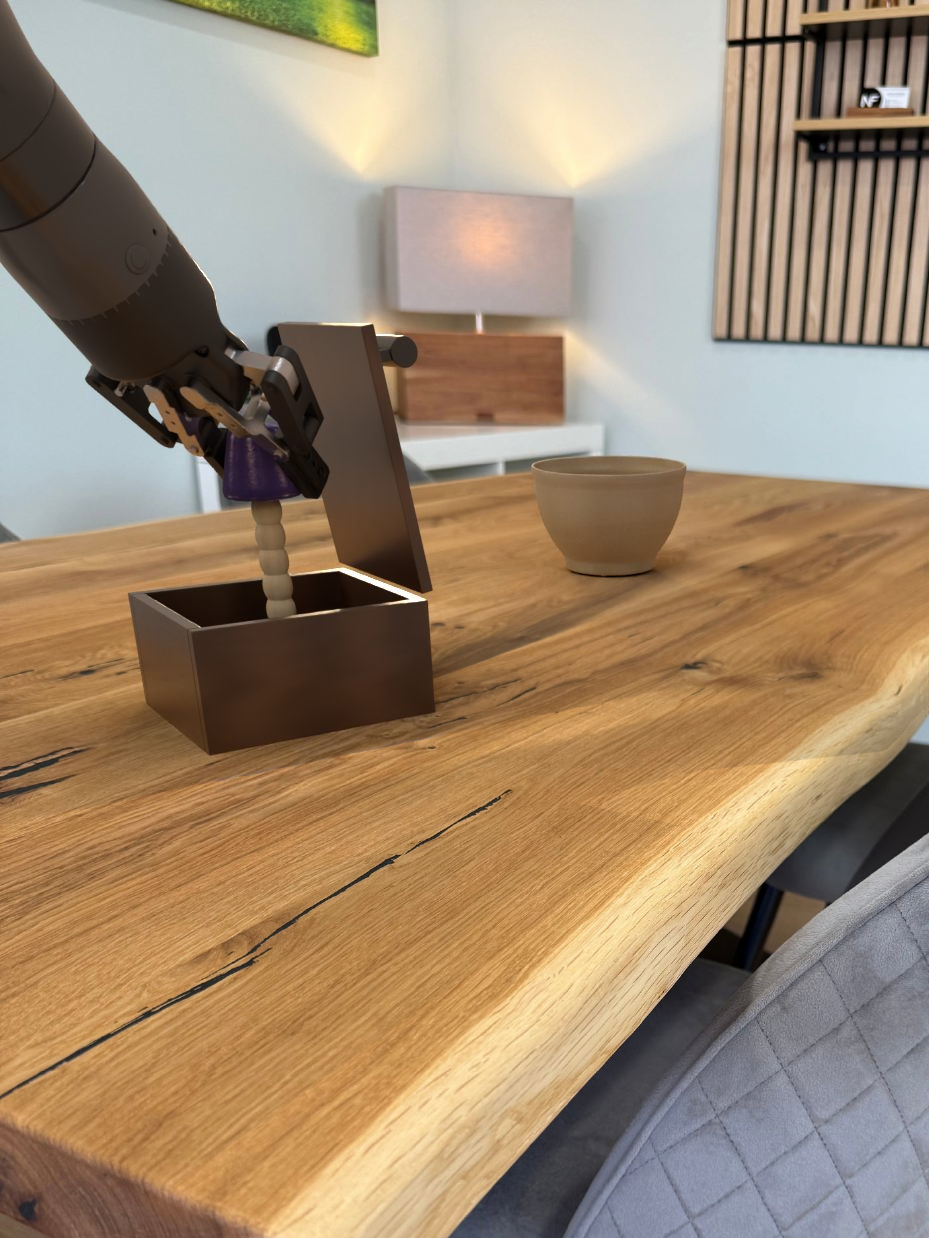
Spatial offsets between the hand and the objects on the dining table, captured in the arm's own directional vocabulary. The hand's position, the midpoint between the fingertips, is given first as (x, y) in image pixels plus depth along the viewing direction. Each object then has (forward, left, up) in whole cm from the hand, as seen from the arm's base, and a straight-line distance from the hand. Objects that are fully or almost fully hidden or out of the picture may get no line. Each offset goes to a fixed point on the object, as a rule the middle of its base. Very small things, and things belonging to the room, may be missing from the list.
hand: (283, 484), depth 74 cm
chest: (-2, -1, -15) cm, 15 cm away
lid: (+4, -1, +1) cm, 4 cm away
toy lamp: (-2, -1, -13) cm, 13 cm away
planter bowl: (+47, +33, -16) cm, 59 cm away
